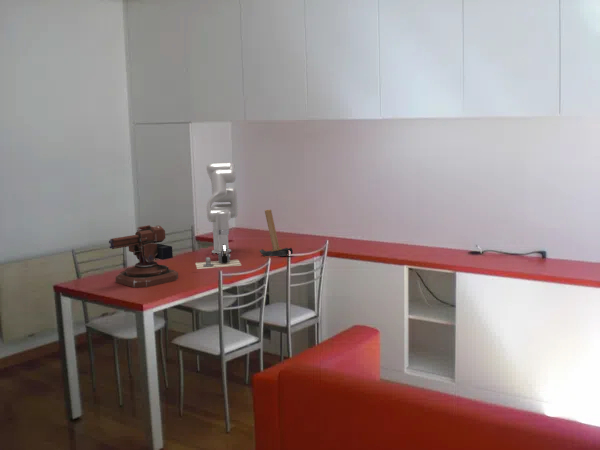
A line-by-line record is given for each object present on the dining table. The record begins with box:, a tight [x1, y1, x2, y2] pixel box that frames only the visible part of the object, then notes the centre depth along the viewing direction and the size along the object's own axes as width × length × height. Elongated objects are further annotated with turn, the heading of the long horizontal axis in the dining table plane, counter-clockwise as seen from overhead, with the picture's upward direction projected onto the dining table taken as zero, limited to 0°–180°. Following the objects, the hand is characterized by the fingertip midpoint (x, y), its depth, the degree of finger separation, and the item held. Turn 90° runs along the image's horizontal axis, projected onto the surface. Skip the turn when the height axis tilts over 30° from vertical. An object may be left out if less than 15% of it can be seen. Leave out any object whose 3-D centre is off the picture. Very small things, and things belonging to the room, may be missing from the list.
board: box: [195, 257, 242, 270], centre depth 416 cm, size 18×26×6 cm
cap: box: [217, 253, 231, 263], centre depth 420 cm, size 7×7×5 cm
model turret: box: [108, 225, 179, 288], centre depth 381 cm, size 28×35×30 cm
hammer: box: [258, 209, 293, 257], centre depth 439 cm, size 20×5×30 cm, turn 70°
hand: (224, 261), depth 421 cm, fingers closed on cap, 6 cm apart
